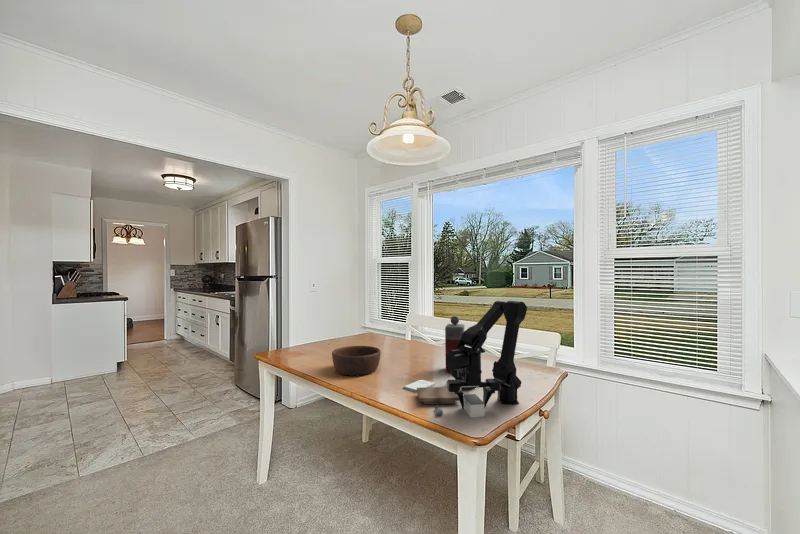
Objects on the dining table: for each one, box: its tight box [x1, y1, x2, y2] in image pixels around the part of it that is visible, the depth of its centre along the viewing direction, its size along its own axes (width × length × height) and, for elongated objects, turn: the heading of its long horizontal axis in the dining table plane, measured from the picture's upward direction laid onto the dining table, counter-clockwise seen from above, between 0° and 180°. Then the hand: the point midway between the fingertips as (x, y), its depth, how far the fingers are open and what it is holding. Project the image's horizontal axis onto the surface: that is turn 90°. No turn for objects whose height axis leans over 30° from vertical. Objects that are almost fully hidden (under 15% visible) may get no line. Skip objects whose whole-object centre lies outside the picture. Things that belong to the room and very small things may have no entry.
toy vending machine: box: [444, 315, 465, 374], centre depth 178 cm, size 9×11×28 cm
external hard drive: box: [403, 379, 436, 393], centre depth 153 cm, size 2×8×12 cm
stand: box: [416, 386, 460, 405], centre depth 137 cm, size 16×12×3 cm
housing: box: [463, 393, 485, 418], centre depth 126 cm, size 9×5×5 cm, turn 7°
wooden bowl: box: [331, 345, 382, 377], centre depth 179 cm, size 25×25×10 cm
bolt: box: [434, 404, 444, 417], centre depth 125 cm, size 6×3×3 cm, turn 2°
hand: (473, 408), depth 126 cm, fingers open, 7 cm apart
